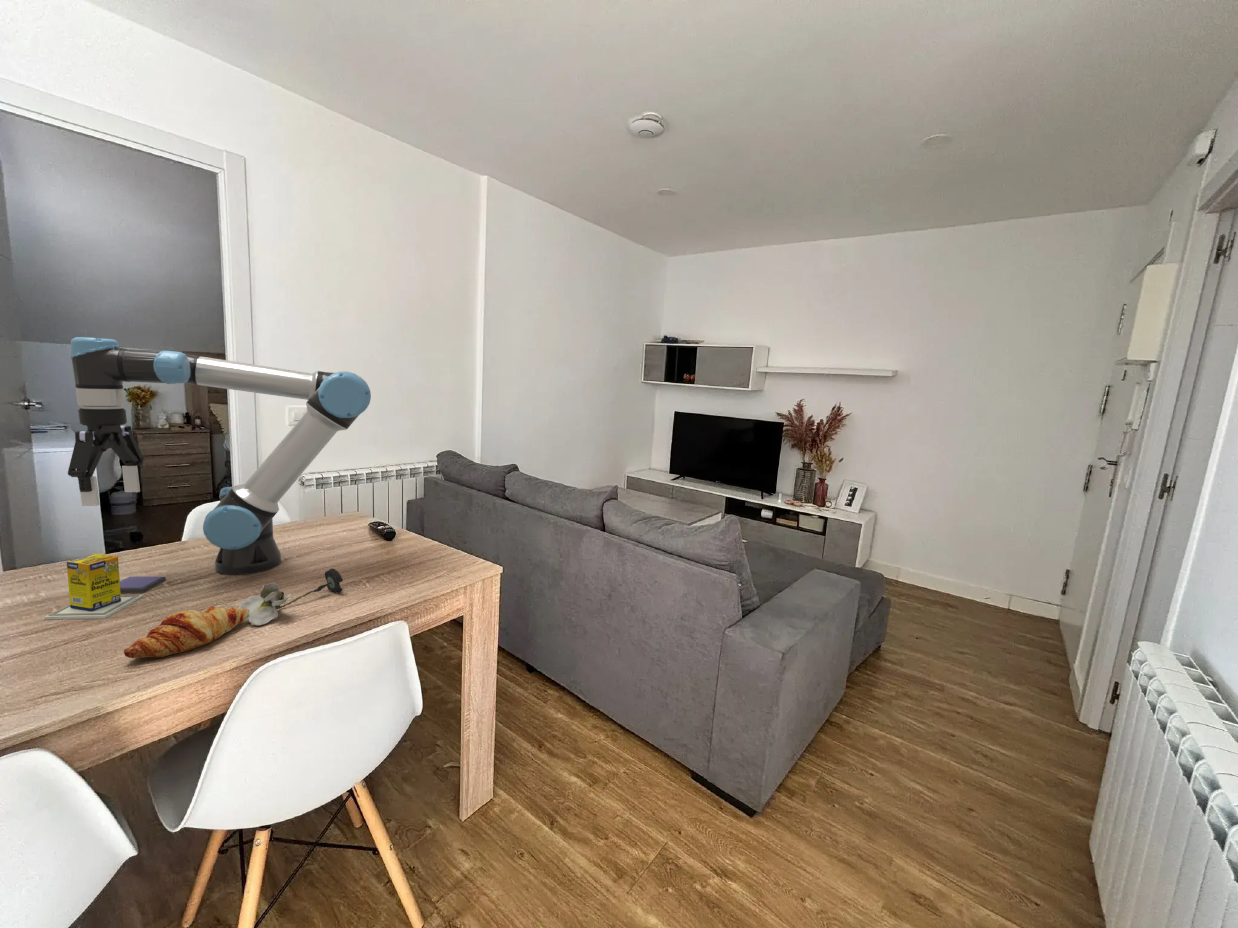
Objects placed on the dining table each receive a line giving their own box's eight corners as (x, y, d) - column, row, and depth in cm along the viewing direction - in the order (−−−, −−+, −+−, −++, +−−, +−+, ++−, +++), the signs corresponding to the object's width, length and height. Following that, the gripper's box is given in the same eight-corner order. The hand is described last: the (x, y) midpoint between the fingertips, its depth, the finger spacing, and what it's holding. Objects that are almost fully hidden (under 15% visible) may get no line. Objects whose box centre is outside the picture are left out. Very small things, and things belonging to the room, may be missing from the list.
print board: (142, 597, 119) (142, 594, 119) (105, 618, 108) (105, 614, 108) (88, 597, 117) (87, 594, 117) (44, 619, 106) (44, 615, 106)
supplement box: (92, 612, 109) (87, 564, 108) (69, 608, 110) (64, 561, 109) (122, 601, 115) (119, 555, 114) (100, 597, 116) (97, 552, 114)
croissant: (241, 628, 113) (230, 595, 113) (266, 621, 109) (255, 586, 109) (119, 675, 94) (106, 635, 94) (144, 668, 90) (130, 626, 90)
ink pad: (165, 580, 129) (165, 575, 129) (143, 592, 121) (142, 588, 121) (129, 580, 127) (129, 575, 127) (104, 593, 120) (103, 588, 119)
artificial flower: (350, 600, 129) (353, 568, 125) (253, 642, 109) (253, 606, 106) (329, 583, 132) (331, 551, 129) (231, 621, 113) (231, 585, 109)
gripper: (120, 403, 124) (129, 487, 127) (33, 410, 100) (48, 512, 104) (156, 405, 126) (164, 486, 129) (80, 411, 102) (92, 511, 106)
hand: (112, 498), depth 117 cm, fingers open, 13 cm apart
